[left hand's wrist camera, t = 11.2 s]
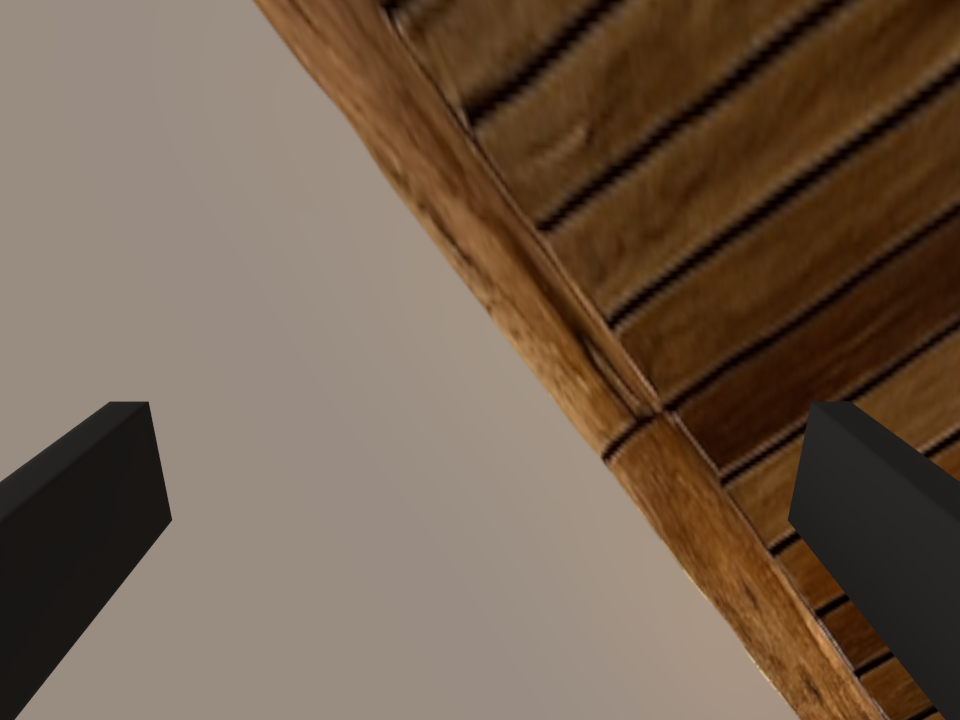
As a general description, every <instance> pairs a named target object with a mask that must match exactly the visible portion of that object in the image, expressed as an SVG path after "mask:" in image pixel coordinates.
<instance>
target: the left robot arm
mask: <svg viewBox="0 0 960 720" xmlns="http://www.w3.org/2000/svg"><path fill="white" fill-rule="evenodd" d="M171 521H172V517H171V512H170V507H169V502H168V497H167V492H166V487H165V482H164V477H163V472H162V467H161V462H160V457H159V452H158V447H157V442H156V437H155V432H154V427H153V422H152V417H151V412H150V407H149V402H109V403H107V404H106V405H105V406H103V407H102V408H101V409H99V410H98V411H97V412H95V413H94V414H92V415H91V416H90V417H88V418H87V419H86V420H84V421H83V422H81V423H80V424H79V425H77V426H76V427H75V428H73V429H72V430H71V431H69V432H68V433H67V434H65V435H64V436H62V437H61V438H60V439H58V440H57V441H56V442H54V443H53V444H51V445H50V446H49V447H47V448H46V449H45V450H43V451H42V452H41V453H39V454H38V455H37V456H35V457H34V458H32V459H31V460H30V461H28V462H27V463H26V464H24V465H23V466H21V467H20V468H19V469H17V470H16V471H15V472H13V473H12V474H11V475H9V476H8V477H6V478H5V479H4V480H2V481H1V482H0V720H15V718H16V717H17V716H18V715H19V713H20V712H21V711H22V710H23V708H24V707H25V706H26V705H27V703H28V702H29V701H30V699H31V698H32V697H33V696H34V694H35V693H36V692H37V691H38V689H39V688H40V687H41V686H42V684H43V683H44V682H45V680H46V679H47V678H48V677H49V675H50V674H51V673H52V672H53V670H54V669H55V668H56V667H57V665H58V664H59V663H60V661H61V660H62V659H63V658H64V656H65V655H66V654H67V653H68V651H69V650H70V649H71V647H72V646H73V645H74V644H75V642H76V641H77V640H78V639H79V637H80V636H81V635H82V634H83V632H84V631H85V630H86V629H87V627H88V626H89V625H90V623H91V622H92V621H93V620H94V618H95V617H96V616H97V615H98V613H99V612H100V611H101V610H102V608H103V607H104V606H105V605H106V603H107V602H108V601H109V599H110V598H111V597H112V596H113V594H114V593H115V592H116V591H117V589H118V588H119V587H120V585H121V584H122V583H123V582H124V580H125V579H126V578H127V577H128V575H129V574H130V573H131V572H132V570H133V569H134V568H135V567H136V565H137V564H138V563H139V561H140V560H141V559H142V558H143V556H144V555H145V554H146V553H147V551H148V550H149V549H150V548H151V546H152V545H153V544H154V542H155V541H156V540H157V539H158V537H159V536H160V535H161V534H162V532H163V531H164V530H165V528H166V527H167V526H168V525H169V523H170V522H171ZM788 521H789V522H790V523H791V525H792V526H793V527H794V529H795V530H796V531H797V532H798V534H799V535H800V536H801V537H802V539H803V540H804V541H805V542H806V544H807V545H808V546H809V548H810V549H811V550H812V551H813V553H814V554H815V555H816V556H817V558H818V559H819V560H820V561H821V563H822V564H823V565H824V567H825V568H826V569H827V570H828V572H829V573H830V574H831V575H832V577H833V578H834V579H835V580H836V582H837V583H838V584H839V586H840V587H841V588H842V589H843V591H844V592H845V593H846V594H847V596H848V597H849V598H850V599H851V601H852V602H853V603H854V605H855V606H856V607H857V608H858V610H859V611H860V612H861V613H862V615H863V616H864V617H865V618H866V620H867V621H868V622H869V623H870V625H871V626H872V627H873V629H874V630H875V631H876V632H877V634H878V635H879V636H880V637H881V639H882V640H883V641H884V642H885V644H886V645H887V646H888V648H889V649H890V650H891V651H892V653H893V654H894V655H895V656H896V658H897V659H898V660H899V661H900V663H901V664H902V665H903V667H904V668H905V669H906V670H907V672H908V673H909V674H910V675H911V677H912V678H913V679H914V680H915V682H916V683H917V684H918V686H919V687H920V688H921V689H922V691H923V692H924V693H925V694H926V696H927V697H928V698H929V699H930V701H931V702H932V703H933V705H934V706H935V707H936V708H937V710H938V711H939V712H940V713H941V715H942V716H943V717H944V718H945V720H960V482H959V481H958V480H956V479H955V478H954V477H952V476H951V475H949V474H948V473H947V472H945V471H944V470H943V469H941V468H940V467H939V466H937V465H936V464H934V463H933V462H932V461H930V460H929V459H928V458H926V457H925V456H924V455H922V454H921V453H919V452H918V451H917V450H915V449H914V448H913V447H911V446H910V445H909V444H907V443H906V442H904V441H903V440H902V439H900V438H899V437H898V436H896V435H895V434H894V433H892V432H891V431H889V430H888V429H887V428H885V427H884V426H883V425H881V424H880V423H879V422H877V421H876V420H874V419H873V418H872V417H870V416H869V415H868V414H866V413H865V412H864V411H862V410H861V409H859V408H858V407H857V406H855V405H854V404H853V403H851V402H811V406H810V411H809V417H808V422H807V427H806V432H805V437H804V442H803V447H802V452H801V457H800V462H799V467H798V472H797V477H796V482H795V487H794V492H793V497H792V502H791V507H790V512H789V517H788Z"/></svg>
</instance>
